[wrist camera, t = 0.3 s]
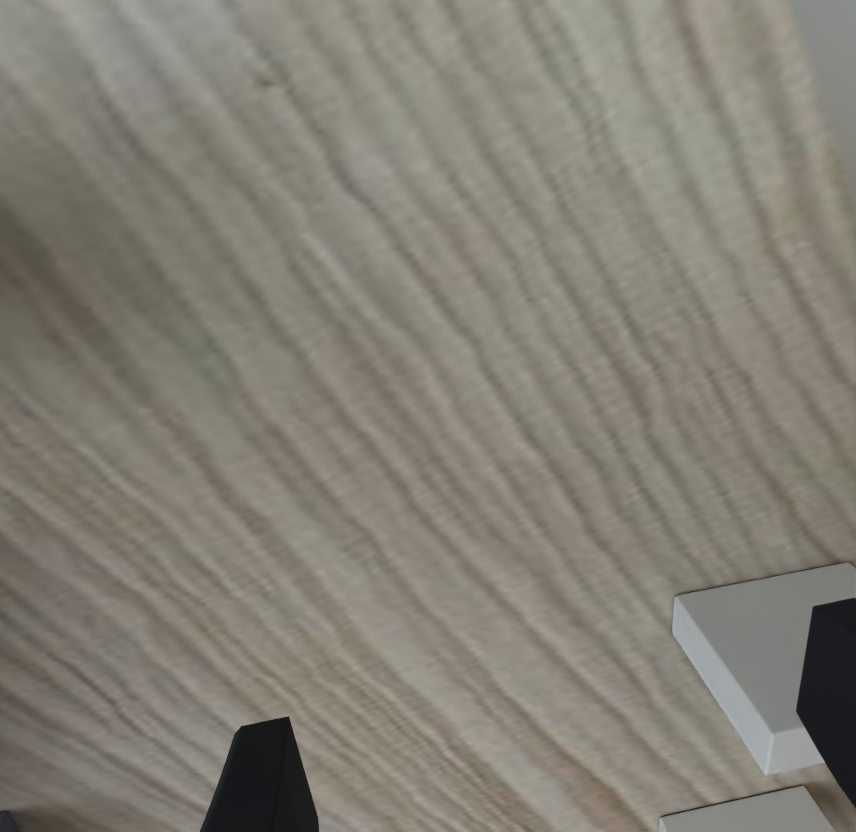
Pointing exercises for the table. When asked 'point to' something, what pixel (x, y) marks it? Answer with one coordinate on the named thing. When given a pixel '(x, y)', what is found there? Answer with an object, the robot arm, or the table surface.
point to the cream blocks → (759, 687)
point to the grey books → (7, 823)
